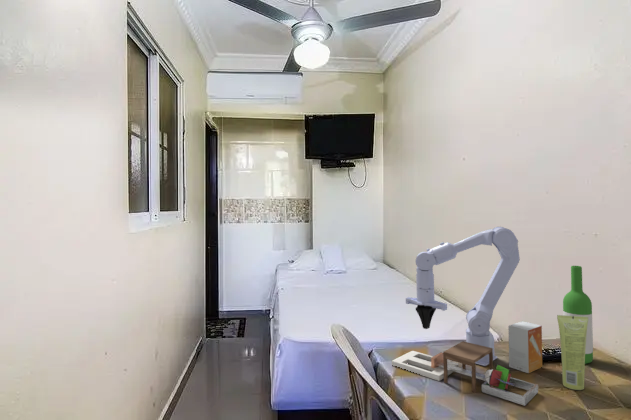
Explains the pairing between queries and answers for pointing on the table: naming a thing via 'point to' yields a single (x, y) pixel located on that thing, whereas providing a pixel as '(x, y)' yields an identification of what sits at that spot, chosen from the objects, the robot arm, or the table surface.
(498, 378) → the geometric puzzle
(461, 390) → the table surface
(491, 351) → the brown wooden stool
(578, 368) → the tube
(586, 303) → the wine bottle
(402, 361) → the pit board
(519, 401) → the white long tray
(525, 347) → the small box
